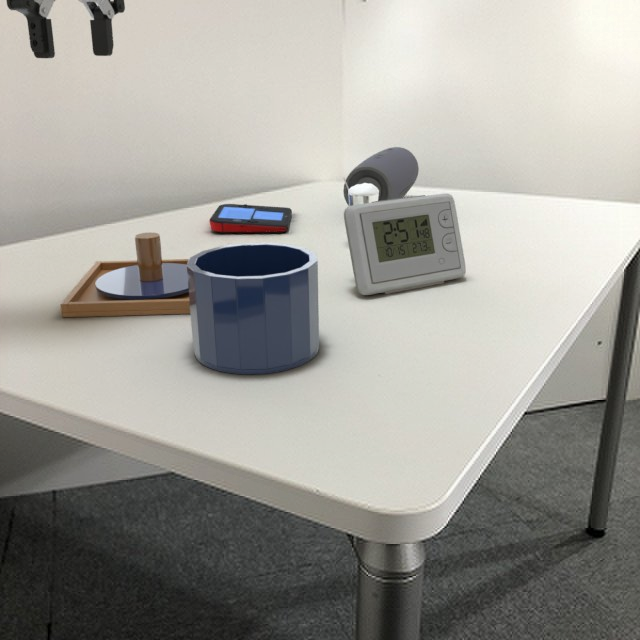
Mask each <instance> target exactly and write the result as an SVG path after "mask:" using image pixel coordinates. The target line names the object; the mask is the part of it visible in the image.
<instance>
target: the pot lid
mask: <svg viewBox="0 0 640 640" xmlns="http://www.w3.org/2000/svg"><path fill="white" fill-rule="evenodd" d="M134 241H135V253H136V260H137V263H138V265H135V266H129V267H124V268H120V269H117V270H114V271H111V272H108V273H106V274H104V275H102V276H101V277H99V278H98V279H97V280H96V282H95V286H96V290H97V291H98V292H99V293H101V294H103V295H105V296H109V297H113V298H119V299H131V300H144V299H158V298H165V297H171V296H176V295H180V294H184V293H187V292H189V288H188V276H187V265H185V264H176V263H162V260H163V255H162V254H163V253H162V246H161V235H160V233H158V232H142V233H141V232H140V233H138V234H136V235H134Z"/></svg>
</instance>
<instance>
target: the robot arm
mask: <svg viewBox="0 0 640 640" xmlns="http://www.w3.org/2000/svg"><path fill="white" fill-rule="evenodd" d="M77 1H78V2H79V3H81V4H83V6H84V7H85V9H86V10H87V13H88V14H89V16H90V18H91V19H89V24H90V33H91V34H90V35H91V43H92V53H93V55H94V56H96V57H106V56H107V57H111V56H112V55H113V54H114V53H113V50H114V45H115V44H114V35H113V34H114V33H113V23H112V22H113V19H114V17H115V16H116V15H117V14H123V13H124V12H125V10H126V3H125V0H77ZM55 2H56V0H6V6H7V9H8V10H10V11H16V12H18V13H20V14H22V15H23V16H24V17H25V18H26V21H27V30H28V36H29V37H28V39H29V46H30V49H31V51H32V53H33V55H34V57H35V58H36V59H53V58H55V56H56V51H55V42H54V35H53V34H54V33H53V25H52V24H53V23H52V19H51V18H48V17H49V15H50V13H51V10H52V8H53V6H54V3H55Z"/></svg>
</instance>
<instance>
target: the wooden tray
mask: <svg viewBox="0 0 640 640" xmlns="http://www.w3.org/2000/svg"><path fill="white" fill-rule="evenodd" d="M189 259H190V258H182V259H180V258H179V259H176V258H175V259H162V263H176V264H185V265H187V263H188V261H189ZM135 265H138V263H137V259H136V260H103V261H102V260H100V261H99V260H97V261H95V262H94V264H93V265H92V266H91V267H90V268H89V269H88V271H87V272H86V273H85V274H84V275H83V277H81V279H80V280H79V282H78V283H77V284H76V285H75V286H74V287H73V289H72V290H71V291H70V292H69V293H68V294H67V296H66V297H65V298H64V299H63V301H62V302H61V303H60V311H61V317H62V318H84V317H85V318H86V317H87V318H88V317H119V316H121V317H122V316H124V317H125V316H155V315H156V316H157V315H189V314H190V315H191V313H190V301H189V292H187V293H184V294H180V295H176V296H171V297H165V298H158V299H144V300H131V299H119V298H113V297H109V296H105V295H103V294H101V293H99V292H98V291H97V290H96V286H95V282H96V280H97V279H98V278H99V277H101V276H102V275H104V274H106V273H108V272H111V271H114V270H117V269H120V268H124V267H129V266H135Z"/></svg>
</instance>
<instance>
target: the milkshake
mask: <svg viewBox="0 0 640 640" xmlns="http://www.w3.org/2000/svg"><path fill="white" fill-rule="evenodd" d="M342 179H343V181H344V184H346V186H347V189H348V196H349V206H352V205H358V204H366V203H371V202H374V201H378V197H379V190H378V188H377V187H376V186H374V185H373V184H370V183H369V184H368V183H363V184H357V185H355V186H352V187H351V188H350V189H349V188H348V185H347V183H346V178H345V176H343V177H342ZM349 206H348V207H349Z"/></svg>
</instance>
